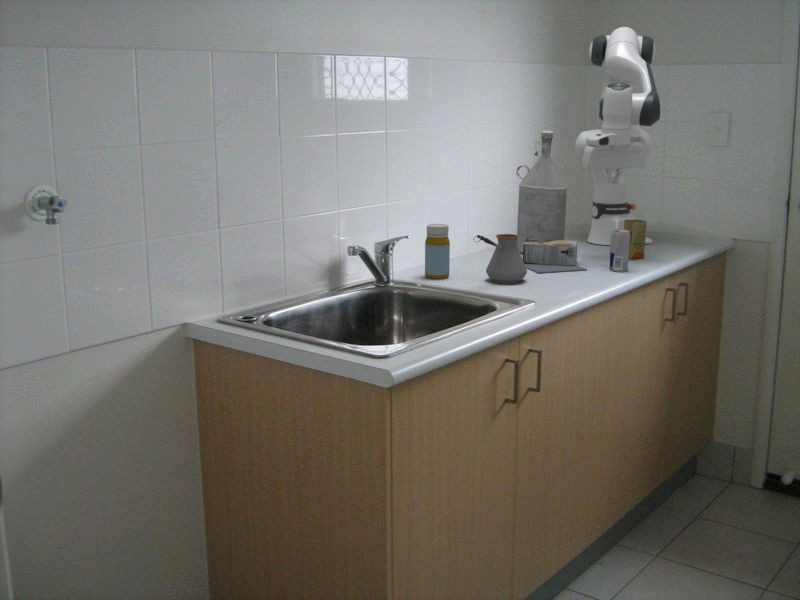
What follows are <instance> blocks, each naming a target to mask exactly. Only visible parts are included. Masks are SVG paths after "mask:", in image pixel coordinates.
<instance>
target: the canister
mask: <svg viewBox="0 0 800 600" xmlns="http://www.w3.org/2000/svg"><path fill="white" fill-rule="evenodd" d="M540 138H541V142H540V141H534V148H535V149H536V151H535V152H534V156H535V157H538V156H539V152H540V151H541V152H540V153H541V154H540V156H539V157H538V159H537V160H536V161H535V163H534V164H533V166H532V167H531V168H530V167H529V166H528V165H526V164H525V165H519V166H518V167H517V169H516V176H518V179H521V182H520V183H519V184H518V187H519V188H518V206H517V207H518V209H517V224H516V225H517V228H516V235H518V236H519V238H518V239H517V243H516V244H517V246H518V249H519V251H520V254H523V244H524V242H525V240H526V239H542V240H565V235H566V234H565V231H566V214H567V213H566V211H567V193H568V192H567V190H568V186H567V185H566V183H565V181H564V180H563V177H562V176H561V174H560V172H559V170H558V168H557V166H556V164H555V162H554V160H553V158H552V156H551V148H552V144H553V143H552V142H553V138H554V131H553V130H542V131H540ZM537 143H538V144H539V145H541V149H540V150H538V149H537ZM523 167H525V168H526V169H527V172H526V174H525V176H524V177H521V176H520V173H519V171H520V169H521V168H523Z"/></svg>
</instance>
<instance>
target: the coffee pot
mask: <svg viewBox="0 0 800 600" xmlns="http://www.w3.org/2000/svg"><path fill="white" fill-rule="evenodd" d="M475 238H478V239H479V240H478V241H476V240H475ZM495 238H496V239H497V241H498V242H497V243H495V242H494V241H492V240H491V239H490V238H488V237H485V236H483V235H479V234H477V235H475V236H474V237H473V243H477V244H478V243H479V242H480V241H483V242H484V243H486V244H488V245H490V246H494V247H495V248H494V252H493V254H492V256H491V258H490V260H489V262H488V265H487V267H486V269H485V271H486V274H487V276H488V277H489V278H490V279H492V282H494V283H497V284H516V283H519V282H521V280H523V279H524V278H525V277H526V275H527V273H528V269H527V268H526V267H525V264H524V262H523V256H522V253H521V252H520V251H519V249H518V246H517V244H516V243H517V239H518V238H519V236H518V235H517V234H513V233H512V234H511V233H509V234H508V233H502V234H496V235H495Z"/></svg>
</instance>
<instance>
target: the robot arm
mask: <svg viewBox="0 0 800 600" xmlns="http://www.w3.org/2000/svg"><path fill="white" fill-rule="evenodd" d="M654 41H655V40H654V39H653V38H652V37H651V36H648V35H638V34H637V32H636V31H635V30H634V29H633V28H631V27H627V26H620V27H618V28H616V29H614V30H613V31H612V32H611V33H610V35H605V34H602V35H597V36H595V37H594V38H593V39H592V41H591V43H590V45H589V49H588V55H589V59H590V63H592V64H593V66H596V67H600V68H602V67H605V70H606V73H605V76H604V80H603V84H602V88H601V89H602V90H601V99H600V100H599V113H598V118H599V120H601V122H602V125H601V129H590V130H589V129H588V130H586V131H585V130H584V131H581V132H580V133H579V134H578V136H577V137H576V140H575V143H574V148H575V149H574V151H575V153H576V155H577V156H578V158H579V159H580V160H581V161H582V168H583V169H584V170H586V171H591V174H592V179H593V186H594V188H593V189H594V191H593V192H594V193H593V195H594V197H593V198H594V199H593V202H592V210H591V217H592V220H591V226H590V231H589V234H588V237H587V239H586V242H588V243H591V244H595V245H603V246H611V233H612V230H615V229H624V220H633V219H638V218H637V217H636V216H634V215H633V214H632V213H631V210H632V211H635V210H636V209H637V207H636V203H629V202H627V196H628V185H629V184H628V180H627V178H626V177H625V176H624V175H623V173H624V169H633V168H637V169H638V168H644V167H645V166H646V163H647V161H646V160H647V159H648V158H649V156H650V155H651V153H652V151H653V141H652V138H651V136H650V134H649V133H648V132H646V131H645V130H644V129H643V128H642V127H652V126H653V125H655V124H657V122H658V121H659V120H660V119H661V118H660V117H661V116H662V102H661V100H660V95H659V94H658V91H657V87H656V82H655V79H654V78H655V77H654V75H653V74H654V73H653V70H652V67H651V64H652V63H653V61H654V59H655V56H656V45H655V44H656V43H655V42H654ZM635 85H637V86H639V87H640V89H641V93H640V92H639V93H637V92H635ZM640 126H642V127H640ZM646 244H648V245H649V244H653V239H652V238H649V237H647V235H646V236H645V245H646Z"/></svg>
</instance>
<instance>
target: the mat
mask: <svg viewBox="0 0 800 600" xmlns="http://www.w3.org/2000/svg"><path fill="white" fill-rule="evenodd" d="M524 264H525V267H526V270H529V271H532V272H534V273H536V274H541V275H542V274H553V273H566V272H567V273H568V272H586V271H588V268H585V267H582V266H581V265H579V264H575V266H574V265H551V264H529V263H524Z"/></svg>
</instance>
